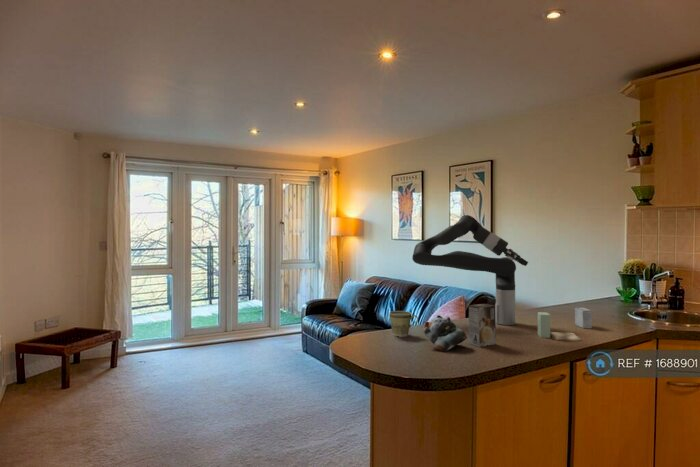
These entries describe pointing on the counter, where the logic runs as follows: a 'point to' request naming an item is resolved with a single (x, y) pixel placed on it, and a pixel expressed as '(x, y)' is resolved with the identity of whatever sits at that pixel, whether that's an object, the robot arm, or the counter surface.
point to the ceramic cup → (401, 322)
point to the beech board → (564, 336)
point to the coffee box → (482, 325)
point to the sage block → (544, 324)
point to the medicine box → (583, 317)
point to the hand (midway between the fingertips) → (525, 264)
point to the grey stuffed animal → (443, 333)
